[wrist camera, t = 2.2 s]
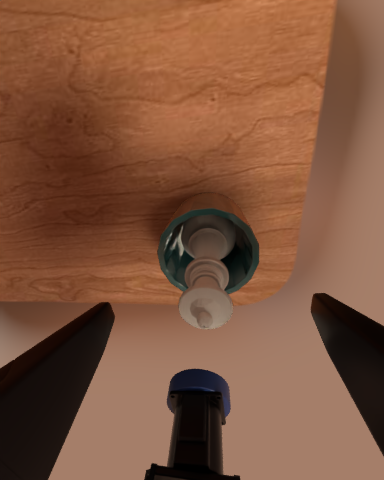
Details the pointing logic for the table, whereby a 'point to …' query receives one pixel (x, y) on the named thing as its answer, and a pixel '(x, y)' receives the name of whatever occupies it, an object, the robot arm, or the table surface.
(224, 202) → the cup
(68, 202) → the table surface
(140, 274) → the table surface
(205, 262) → the chess piece
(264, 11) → the table surface
